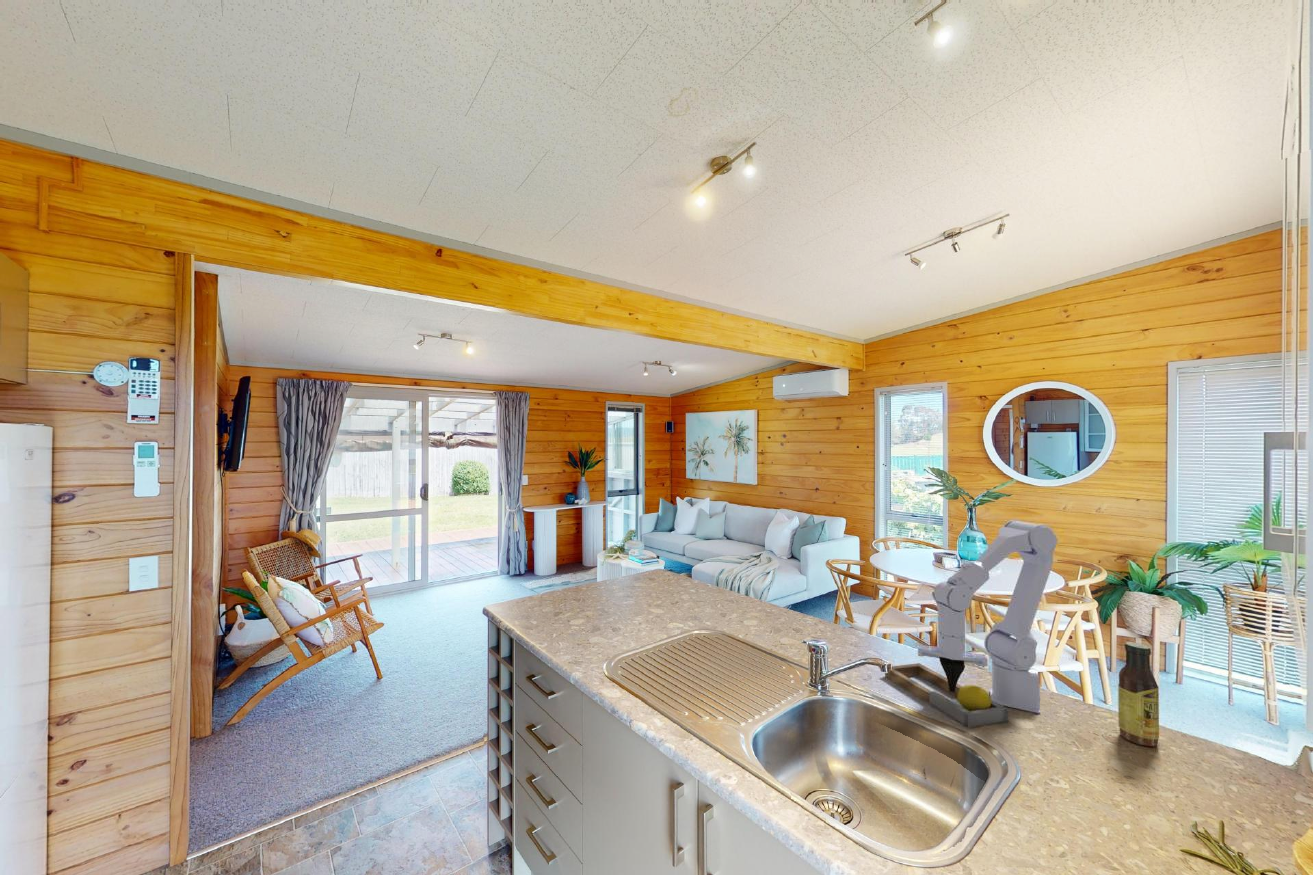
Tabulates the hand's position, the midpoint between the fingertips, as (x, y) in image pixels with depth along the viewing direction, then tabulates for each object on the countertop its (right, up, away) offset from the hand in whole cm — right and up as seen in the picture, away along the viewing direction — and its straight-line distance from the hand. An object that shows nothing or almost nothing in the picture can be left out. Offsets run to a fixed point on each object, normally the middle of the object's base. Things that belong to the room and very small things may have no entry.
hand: (951, 690), depth 122 cm
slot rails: (-2, -4, +8) cm, 9 cm away
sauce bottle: (+31, -3, -15) cm, 35 cm away
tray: (+1, -3, -4) cm, 5 cm away
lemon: (+1, -1, -1) cm, 2 cm away
